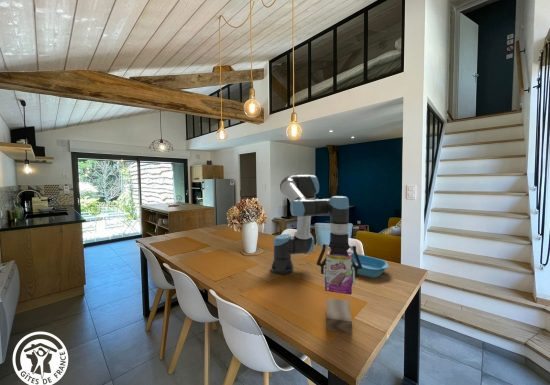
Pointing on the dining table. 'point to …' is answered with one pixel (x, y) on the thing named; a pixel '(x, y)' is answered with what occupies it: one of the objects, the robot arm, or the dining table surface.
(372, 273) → the casserole dish
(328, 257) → the candy bar box
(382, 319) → the dining table surface
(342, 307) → the walnut block
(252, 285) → the dining table surface
